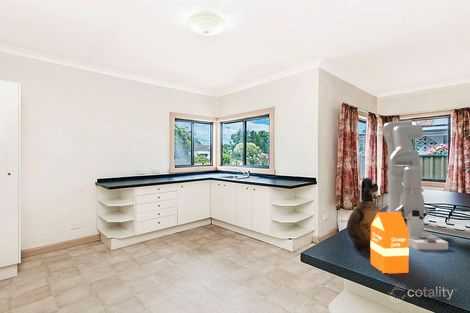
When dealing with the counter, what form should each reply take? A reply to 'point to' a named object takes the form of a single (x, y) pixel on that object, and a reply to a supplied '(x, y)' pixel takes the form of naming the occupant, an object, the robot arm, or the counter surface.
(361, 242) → the ceramic jug
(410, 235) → the scale pan
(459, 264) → the counter surface
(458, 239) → the counter surface
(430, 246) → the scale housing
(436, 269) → the counter surface
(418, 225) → the medicine bottle
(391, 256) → the orange juice
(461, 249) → the counter surface
